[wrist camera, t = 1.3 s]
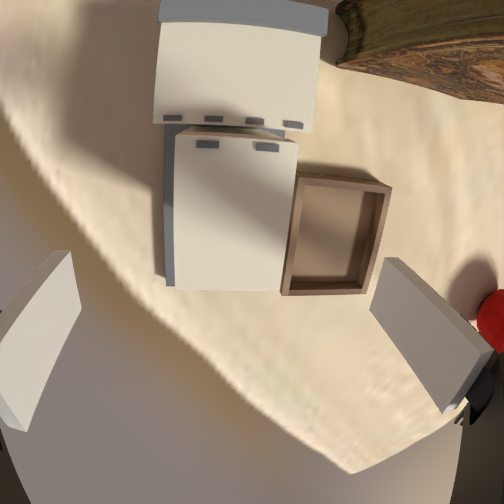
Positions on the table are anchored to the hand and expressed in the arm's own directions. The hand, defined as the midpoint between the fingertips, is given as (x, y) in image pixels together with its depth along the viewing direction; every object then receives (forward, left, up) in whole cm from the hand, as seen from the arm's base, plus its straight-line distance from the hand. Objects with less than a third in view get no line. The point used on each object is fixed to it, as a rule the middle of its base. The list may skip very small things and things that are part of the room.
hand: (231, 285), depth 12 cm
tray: (+3, +10, -14) cm, 18 cm away
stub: (-2, 0, -13) cm, 13 cm away
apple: (+13, +40, -15) cm, 45 cm away
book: (-15, +16, -15) cm, 26 cm away
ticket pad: (-9, 0, -13) cm, 16 cm away
